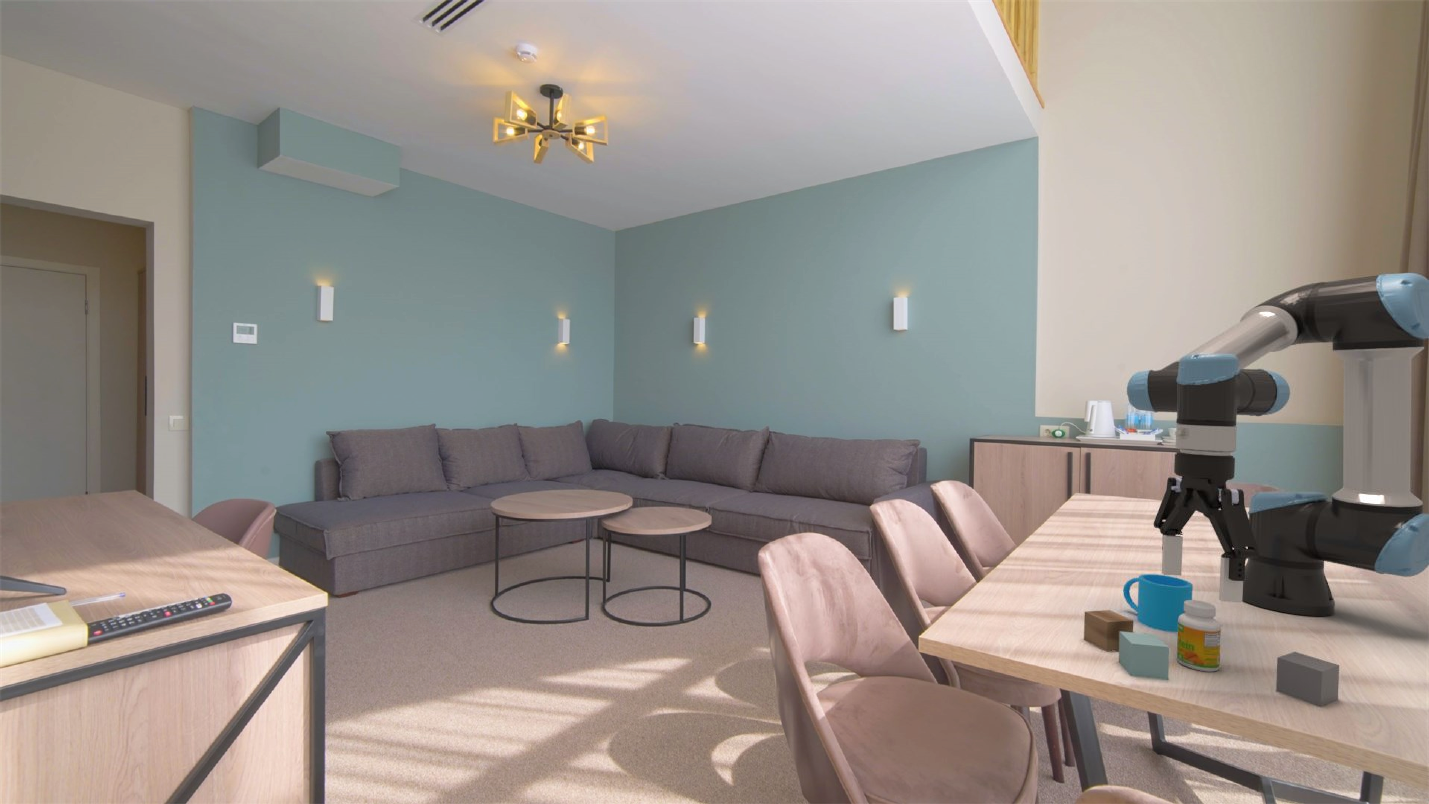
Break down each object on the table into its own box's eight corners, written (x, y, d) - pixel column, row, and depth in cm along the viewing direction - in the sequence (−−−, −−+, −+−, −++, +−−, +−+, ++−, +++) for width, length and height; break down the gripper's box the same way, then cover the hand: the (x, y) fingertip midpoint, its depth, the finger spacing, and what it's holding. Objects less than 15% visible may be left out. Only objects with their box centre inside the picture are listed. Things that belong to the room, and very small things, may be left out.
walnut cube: (1108, 638, 112) (1109, 609, 111) (1132, 649, 107) (1133, 620, 107) (1083, 640, 111) (1084, 611, 110) (1106, 651, 106) (1107, 622, 106)
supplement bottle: (1168, 658, 103) (1170, 598, 103) (1199, 657, 104) (1201, 598, 104) (1196, 672, 98) (1198, 610, 98) (1228, 672, 98) (1230, 609, 98)
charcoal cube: (1293, 684, 95) (1294, 651, 94) (1337, 700, 90) (1339, 665, 90) (1276, 691, 92) (1277, 657, 92) (1320, 707, 88) (1322, 671, 88)
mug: (1201, 629, 116) (1203, 585, 116) (1171, 635, 113) (1172, 589, 113) (1137, 607, 128) (1139, 567, 127) (1108, 612, 125) (1109, 570, 124)
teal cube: (1154, 666, 100) (1155, 634, 100) (1168, 680, 96) (1169, 647, 96) (1118, 662, 102) (1119, 631, 102) (1130, 675, 97) (1131, 643, 97)
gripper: (1133, 445, 113) (1128, 564, 113) (1238, 460, 88) (1231, 613, 88) (1177, 446, 112) (1173, 566, 113) (1296, 462, 87) (1289, 615, 88)
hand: (1198, 587), depth 101 cm, fingers open, 13 cm apart
